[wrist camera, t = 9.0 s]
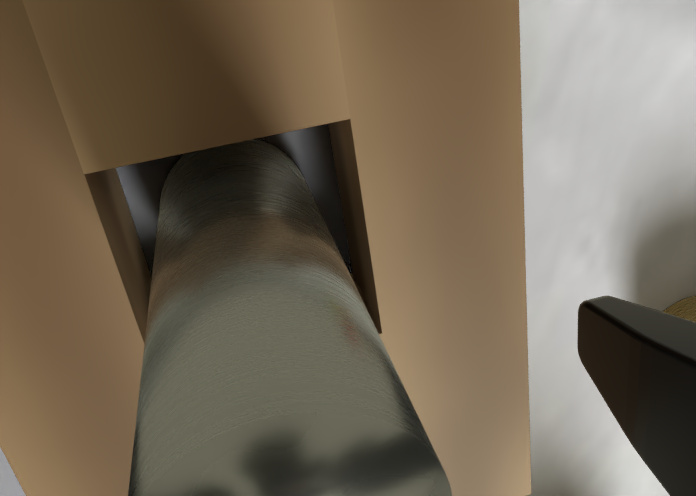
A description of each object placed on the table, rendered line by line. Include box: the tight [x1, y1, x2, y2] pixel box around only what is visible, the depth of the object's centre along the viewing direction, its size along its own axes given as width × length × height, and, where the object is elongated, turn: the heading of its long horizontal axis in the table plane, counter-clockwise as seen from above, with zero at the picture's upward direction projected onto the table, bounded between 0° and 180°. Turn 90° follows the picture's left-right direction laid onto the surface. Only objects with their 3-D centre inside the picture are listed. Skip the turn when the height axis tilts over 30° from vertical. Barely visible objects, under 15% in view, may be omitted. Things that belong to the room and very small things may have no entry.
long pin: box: [128, 139, 452, 496], centre depth 11 cm, size 4×4×10 cm
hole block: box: [0, 0, 531, 496], centre depth 15 cm, size 12×18×3 cm, turn 8°
